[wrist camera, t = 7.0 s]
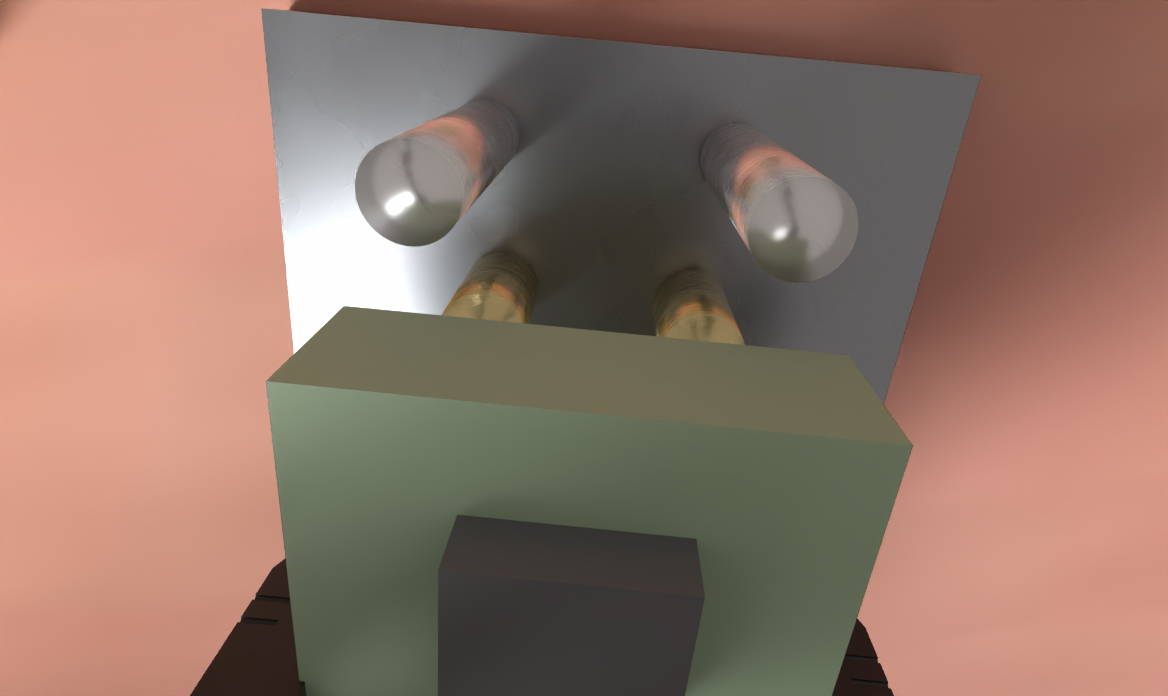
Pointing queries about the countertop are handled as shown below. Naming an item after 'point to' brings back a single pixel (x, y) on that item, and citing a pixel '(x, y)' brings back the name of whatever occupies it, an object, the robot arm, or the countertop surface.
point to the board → (573, 509)
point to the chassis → (607, 183)
